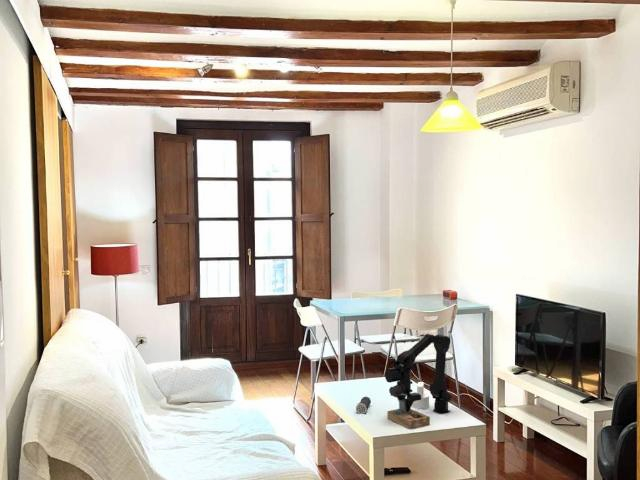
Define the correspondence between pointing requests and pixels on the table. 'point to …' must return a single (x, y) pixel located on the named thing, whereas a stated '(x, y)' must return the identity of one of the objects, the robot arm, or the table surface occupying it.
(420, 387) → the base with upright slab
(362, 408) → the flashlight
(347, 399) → the table surface
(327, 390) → the table surface
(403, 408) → the grey upright block
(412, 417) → the socket board
